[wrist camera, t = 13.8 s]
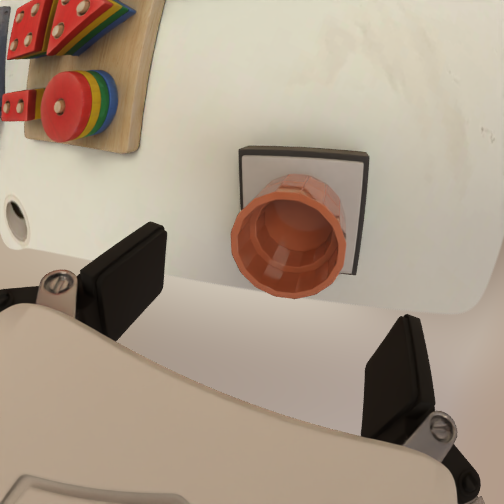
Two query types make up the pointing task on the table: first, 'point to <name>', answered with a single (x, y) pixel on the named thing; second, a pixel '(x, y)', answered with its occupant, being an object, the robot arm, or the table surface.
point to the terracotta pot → (291, 237)
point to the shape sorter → (84, 70)
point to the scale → (321, 167)
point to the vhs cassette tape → (3, 48)
